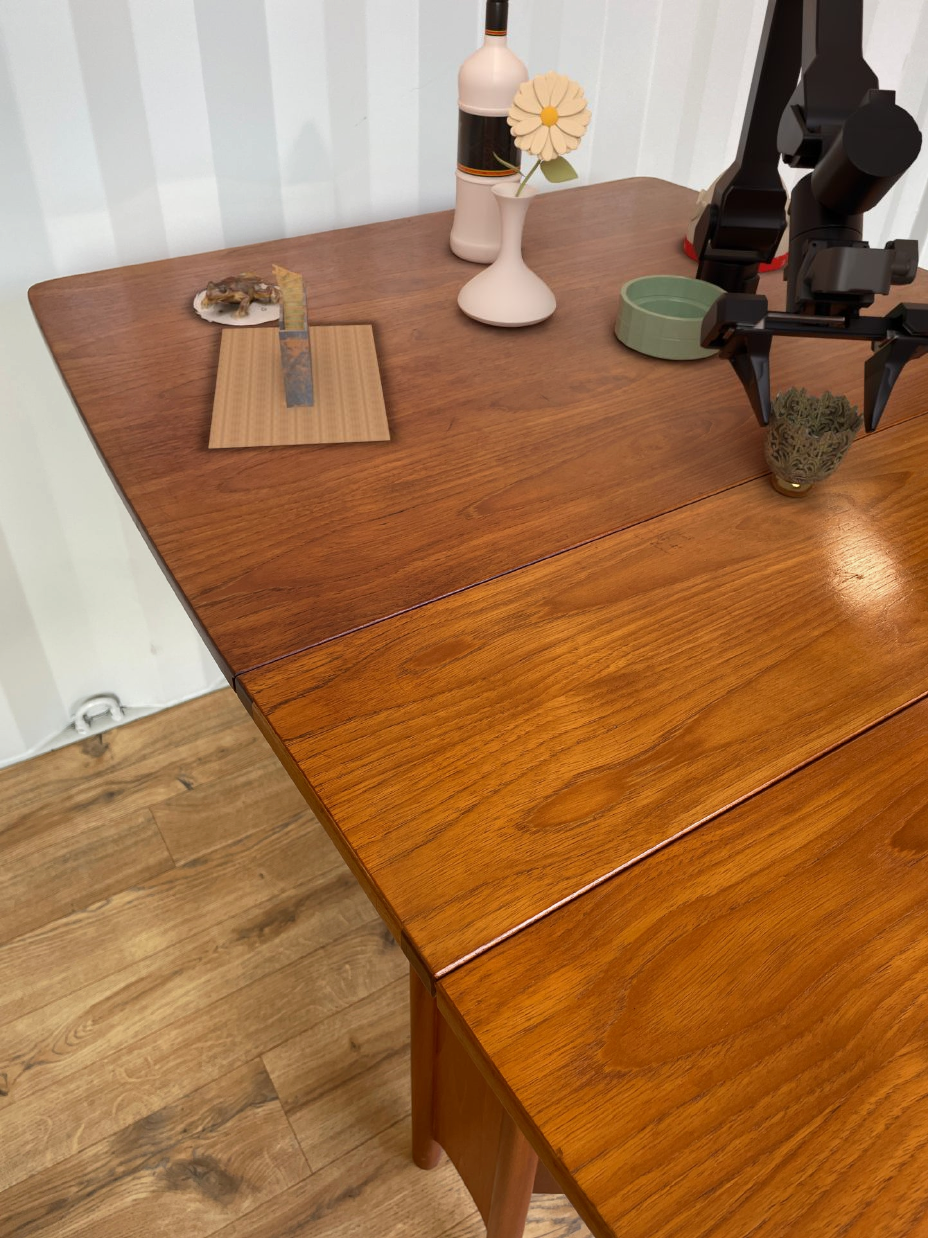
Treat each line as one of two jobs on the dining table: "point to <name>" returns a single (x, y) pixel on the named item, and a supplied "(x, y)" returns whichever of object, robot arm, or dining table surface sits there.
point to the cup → (808, 438)
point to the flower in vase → (528, 201)
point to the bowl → (665, 315)
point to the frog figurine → (239, 301)
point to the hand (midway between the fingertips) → (817, 429)
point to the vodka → (485, 139)
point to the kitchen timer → (699, 208)
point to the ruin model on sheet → (297, 380)
